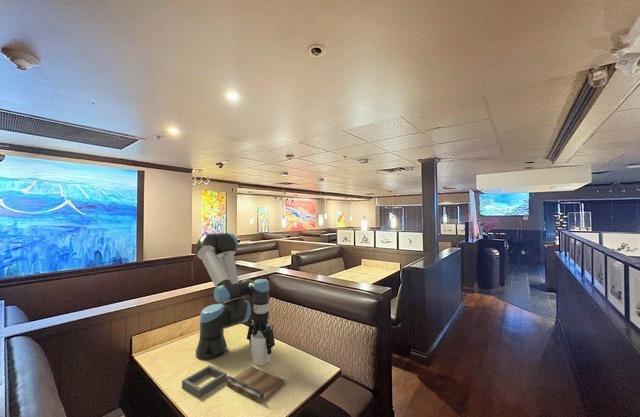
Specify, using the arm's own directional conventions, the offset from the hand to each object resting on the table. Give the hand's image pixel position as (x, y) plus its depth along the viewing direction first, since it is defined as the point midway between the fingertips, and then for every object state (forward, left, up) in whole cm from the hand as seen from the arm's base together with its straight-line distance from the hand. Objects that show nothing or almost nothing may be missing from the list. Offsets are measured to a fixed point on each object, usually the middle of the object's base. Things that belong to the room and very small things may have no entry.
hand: (260, 357), depth 128 cm
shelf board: (+11, -14, -2) cm, 18 cm away
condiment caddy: (-8, -25, -2) cm, 26 cm away
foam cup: (0, 0, -2) cm, 2 cm away
